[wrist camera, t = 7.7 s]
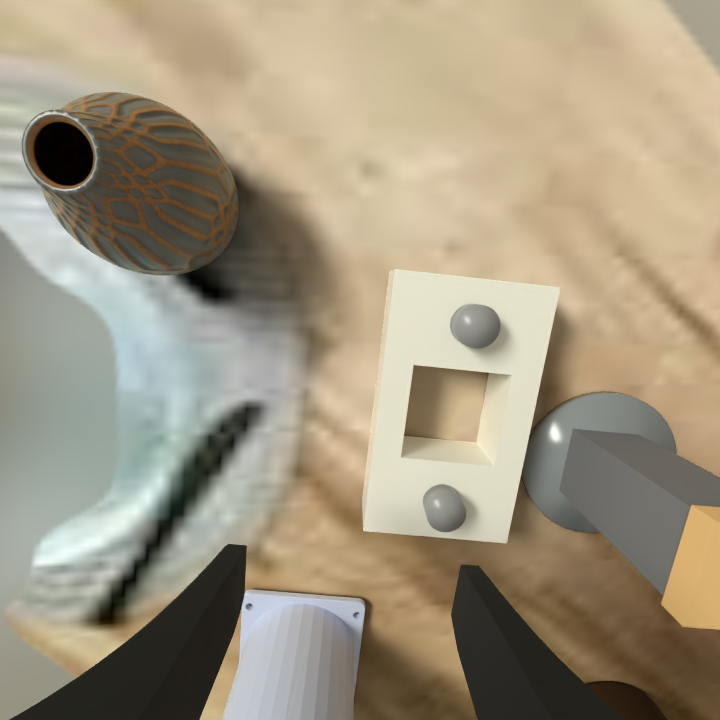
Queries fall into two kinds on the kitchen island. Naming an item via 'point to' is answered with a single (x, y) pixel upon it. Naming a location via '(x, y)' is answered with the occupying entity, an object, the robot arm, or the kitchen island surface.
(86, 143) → the vase
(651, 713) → the olive oil
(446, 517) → the switch plate
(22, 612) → the kitchen island surface
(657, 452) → the plug
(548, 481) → the coaster
